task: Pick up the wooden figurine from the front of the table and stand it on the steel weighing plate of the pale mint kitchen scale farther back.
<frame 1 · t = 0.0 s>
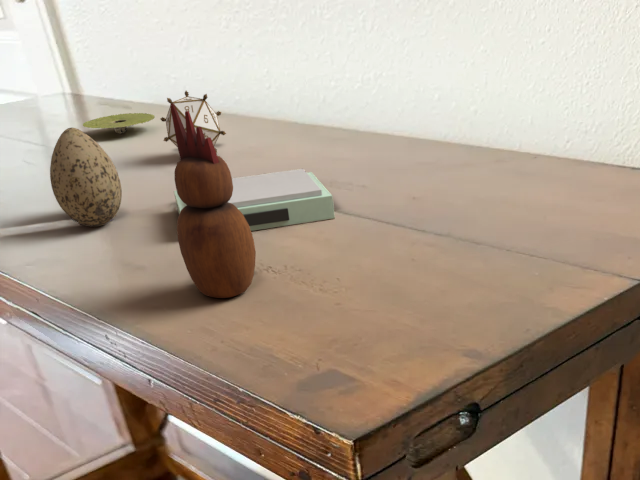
kitchen scale: (254, 215, 91), on the table
decorative egg: (98, 227, 91), on the table
olive green flat disc: (122, 134, 131), on the table
wooden figurine: (225, 293, 73), on the table
game die: (199, 158, 115), on the table
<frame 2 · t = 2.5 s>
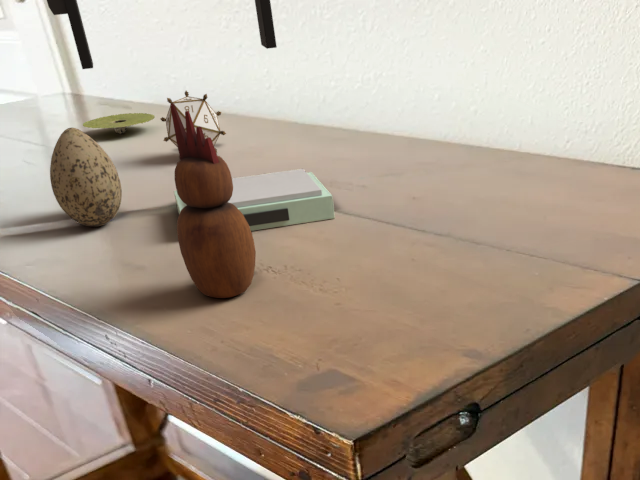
hand: (180, 56, 61), 18 cm above the table, tool pointing down, fingers open, 13 cm apart
nothing on the table moved.
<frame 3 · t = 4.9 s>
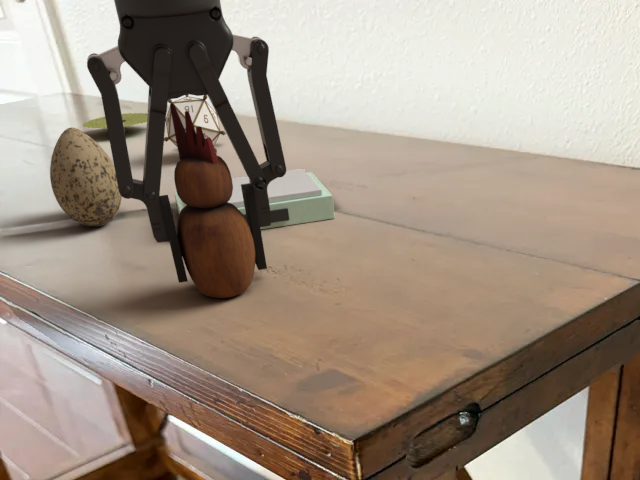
hand: (221, 270, 72), 2 cm above the table, tool pointing down, fingers closed on wooden figurine, 6 cm apart
wooden figurine: (225, 293, 73), on the table, touching gripper
everything else where it was.
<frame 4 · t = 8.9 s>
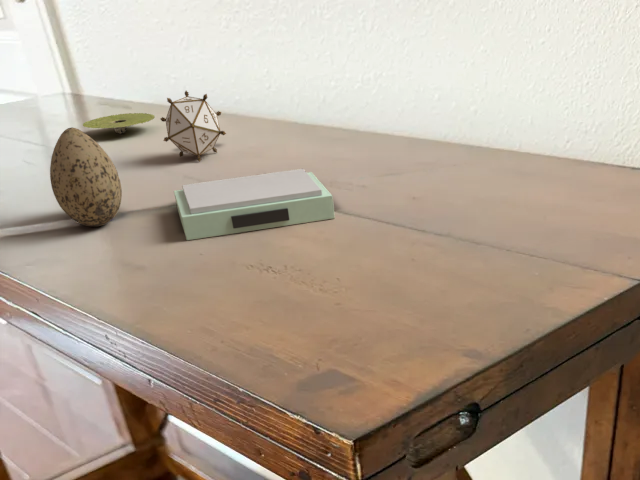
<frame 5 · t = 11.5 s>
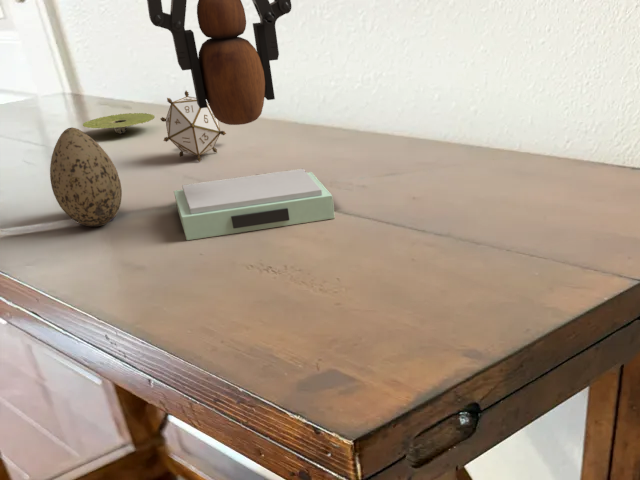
hand: (235, 101, 84), 11 cm above the table, tool pointing down, fingers closed on wooden figurine, 6 cm apart
wooden figurine: (239, 123, 85), point 9 cm above the table, touching gripper
everything else where it was.
when the fingers open (5 cm above the table, at t = 13.3 s): wooden figurine stays where it is, resting on kitchen scale.
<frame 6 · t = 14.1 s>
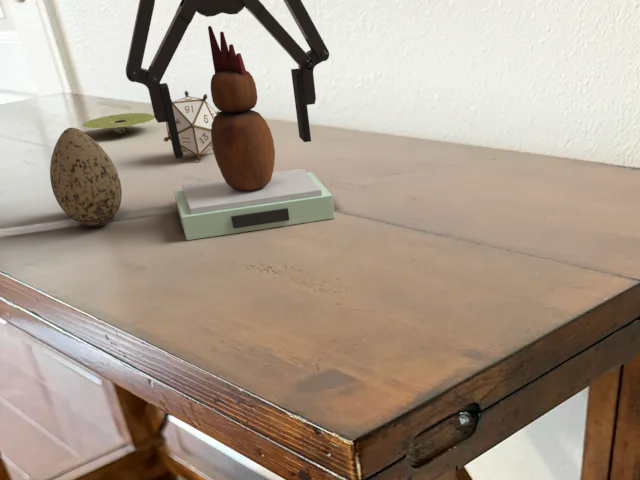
hand: (242, 147, 86), 7 cm above the table, tool pointing down, fingers open, 13 cm apart
wooden figurine: (249, 189, 89), point 3 cm above the table, touching kitchen scale
everything else where it was.
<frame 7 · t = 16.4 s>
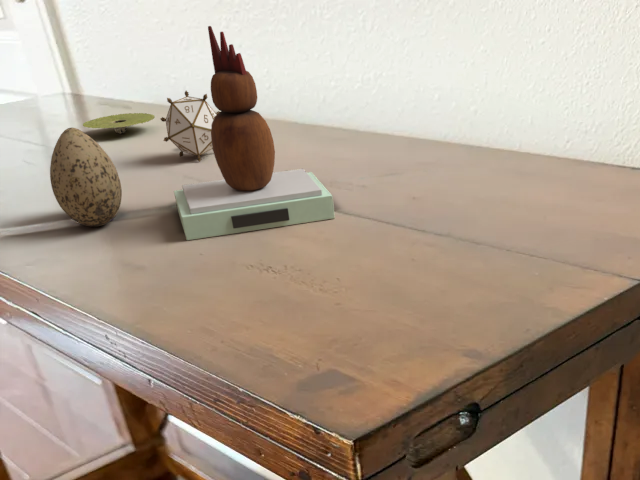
nothing on the table moved.
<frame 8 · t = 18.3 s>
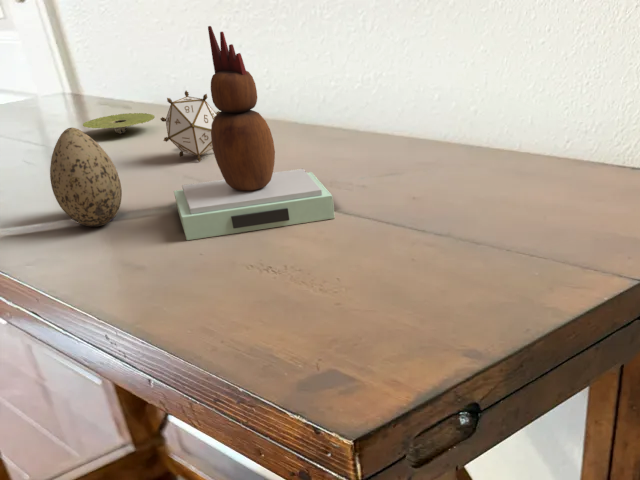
nothing on the table moved.
at the end: wooden figurine inside the target area on the kitchen scale (0.0 cm from its centre), point 2.8 cm above the kitchen scale's base; wooden figurine tilted 0° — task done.
